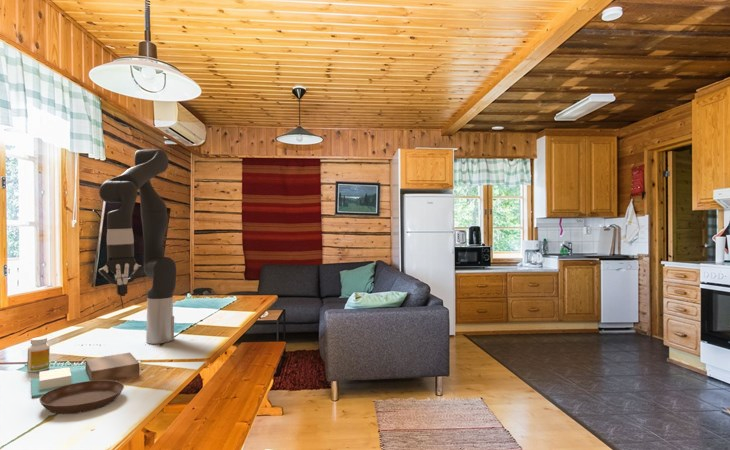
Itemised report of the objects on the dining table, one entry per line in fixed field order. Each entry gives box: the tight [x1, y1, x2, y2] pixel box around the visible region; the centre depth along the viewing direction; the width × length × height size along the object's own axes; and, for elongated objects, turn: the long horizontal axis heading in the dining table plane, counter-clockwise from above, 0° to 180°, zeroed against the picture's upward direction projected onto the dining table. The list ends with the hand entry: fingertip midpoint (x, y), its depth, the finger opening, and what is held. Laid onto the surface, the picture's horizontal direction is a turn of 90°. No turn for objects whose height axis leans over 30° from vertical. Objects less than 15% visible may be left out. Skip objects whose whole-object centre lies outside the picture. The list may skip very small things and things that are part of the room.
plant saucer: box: [39, 380, 125, 415], centre depth 106 cm, size 18×18×3 cm
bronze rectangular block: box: [84, 352, 140, 382], centre depth 126 cm, size 12×14×4 cm
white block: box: [38, 367, 72, 390], centre depth 118 cm, size 7×9×2 cm
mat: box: [30, 369, 90, 399], centre depth 118 cm, size 13×16×1 cm
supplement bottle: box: [26, 336, 51, 373], centre depth 130 cm, size 5×5×10 cm
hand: (122, 295), depth 136 cm, fingers closed
